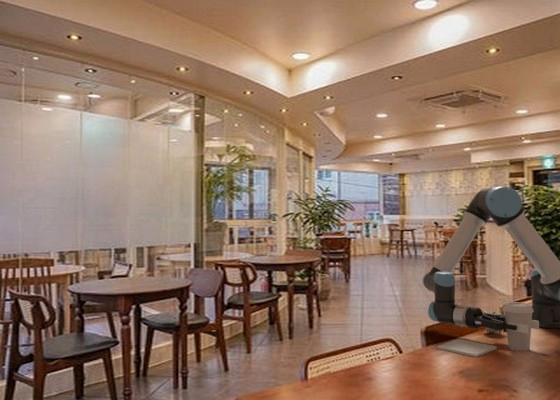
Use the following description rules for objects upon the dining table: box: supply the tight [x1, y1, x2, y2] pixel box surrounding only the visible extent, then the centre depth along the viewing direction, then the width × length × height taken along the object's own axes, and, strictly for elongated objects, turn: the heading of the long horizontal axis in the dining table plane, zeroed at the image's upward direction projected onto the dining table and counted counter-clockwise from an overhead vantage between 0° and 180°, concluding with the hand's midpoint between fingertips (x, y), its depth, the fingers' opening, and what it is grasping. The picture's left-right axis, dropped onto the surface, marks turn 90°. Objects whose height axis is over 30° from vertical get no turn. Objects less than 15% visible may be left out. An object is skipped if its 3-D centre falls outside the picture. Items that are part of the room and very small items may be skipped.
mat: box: [436, 338, 497, 358], centre depth 167 cm, size 14×14×1 cm
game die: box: [483, 311, 502, 335], centre depth 188 cm, size 9×8×10 cm
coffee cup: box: [502, 301, 534, 352], centre depth 167 cm, size 10×10×15 cm
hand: (533, 327), depth 163 cm, fingers closed on coffee cup, 8 cm apart
